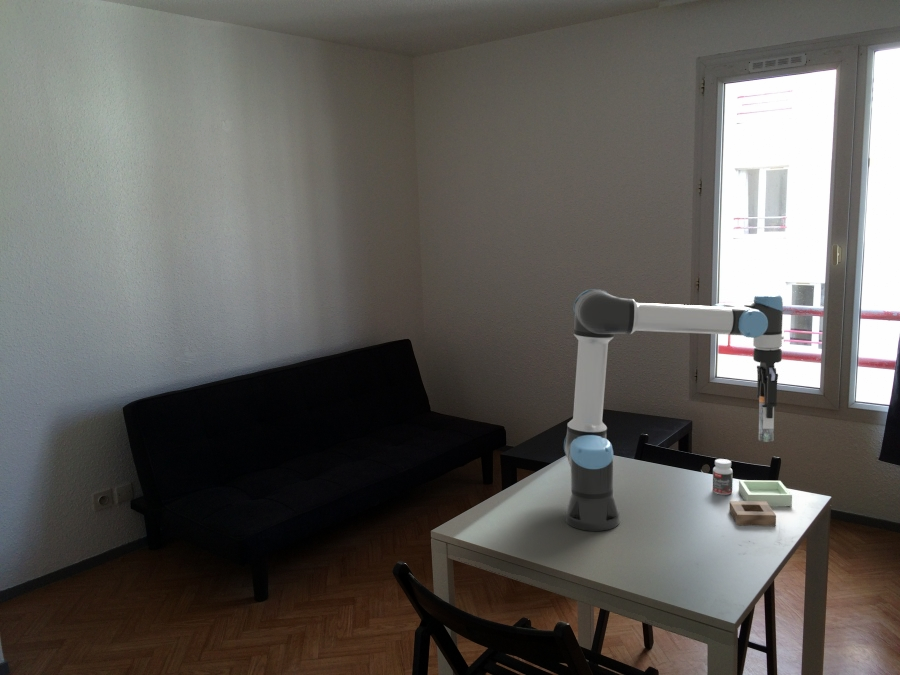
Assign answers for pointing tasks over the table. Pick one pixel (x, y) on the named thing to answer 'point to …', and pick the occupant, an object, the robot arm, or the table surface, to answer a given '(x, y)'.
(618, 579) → the table surface
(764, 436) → the pin
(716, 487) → the pill bottle
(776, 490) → the tray
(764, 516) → the socket
